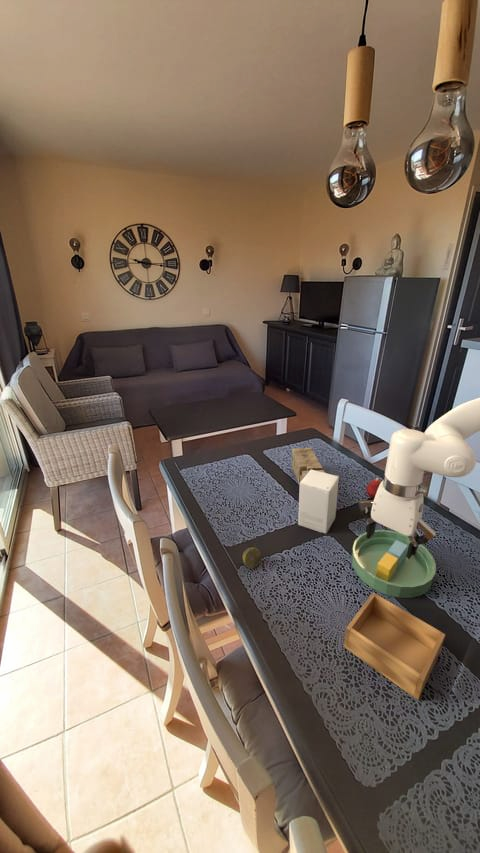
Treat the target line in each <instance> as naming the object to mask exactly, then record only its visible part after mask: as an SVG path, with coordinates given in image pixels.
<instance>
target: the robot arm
mask: <svg viewBox="0 0 480 853" xmlns="http://www.w3.org/2000/svg"><path fill="white" fill-rule="evenodd" d="M478 432H480V397H478V398H474V399H471V400H469V401H466V402H463V403H461V404H459V405H457V406H455V407H454V408H452V409H451V410H449V411H448V412H445V413H444V414H443V415H441V416H440V417H439V418H438V419H436V420H435V421H433V422H432V423H431V424H430V425H429V426H427V428H426V429H425V431H424V432H422V431H420V430H417V429H412V428H401V429H397V430H396V431H394V432H393V433H392V434H391V436H390V441H389V446H388V452H387V457H386V465H385V470H384V475H383V480H382V481H381V483H380V485H379V488H378V490H377V492H376V495H375V498H374V499H366V500H365V499H363V500H361V501H359V502H358V507H359V509H360V514H361V515H362V517H363V518H364V523H365V524H366V526H365V533H366V532H367V535H366V538H368V539H369V538H370V537H371V536H372V535H373V534H374V532H375V530H376V527H377V523H378V524H380V525H382V526H384V527H386V528H388V529H390V530H391V531H394V532H398V533H401V534H404V535H406V536H408V538H409V540H410V541H411V543H410V544H409V547H408V551H407V555H406V557H407V558H408V559H410V557H411V556H412V555H414V556H415V554H416V553H417V549H418V545H421V544H422V545H425V544H427V543H428V542H430V541H431V540H432V539H434V538H435V536H436V535H437V533H436V531H435V530H434V529H432V528H431V526H429V525H428V523H426V522H425V521H424V520H423V515H424V514H423V513H424V500H425V498H424V495H427V494H428V492H429V489H428V488H427V487H425V486H424V484H423V483H424V481H423V479H424V474H425V472H428V473H432V474H436V475H439V476H443V477H447V478H461V477H465V476H468V475H469V474H470V473H472V472H473V471H474V469H475V468H476V464H477V460H476V459H477V458H476V454H475V453H474V451H473V449H472V448H471V446H470V445H469V444H468V442H467V441H466V440H467V439H468V438H470V437H471V436H474V434H476V433H478ZM368 508H371V509H368ZM419 530H420V531H421V532H423V533H424V534H423V535H421V534H420V532H419Z"/></svg>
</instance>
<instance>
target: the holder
mask: <svg viewBox="0 0 480 853" xmlns="http://www.w3.org/2000/svg"><path fill="white" fill-rule="evenodd" d="M445 638H446V633H444V632H442V631H441V630H438V628H435V627H434V626H432V625H431V624H428V623H427V622H425V621H424V620H422V619H421V618H418V617H416V616H415V615H413V614H411V613H410V612H408V611H407V610H405V609H403V608H401V607H399V606H398V605H396V604H394V603H392V602H390V601H389V600H387V599H386V598H384V597H383V596H381V595H379V594H377V593H375V592H372V593H370V595H369V597H368V598H367V599H366V601H365V602H364V603H363V605H362V606H361V607H360V609H359V610H358V611H357V613H356V614H355V615H354V617H353V618H352V619H351V621H350V622H349V624H348V625H347V626H346V628H345V634H344V642H343V647H344V648H345V649H346V650H347V651H348V652H350V653H351V654H353V655H354V656H356V657H357V658H359V659H360V660H361V661H363V662H364V663H365V664H367V665H368V666H370V668H373V669H374V670H375V671H376V672H378V673H379V674H381V675H382V676H383V677H385V678H386V679H388V680H389V681H391V682H392V683H393V684H395V686H397V687H399V688H400V689H401V690H403V691H404V692H406V693H407V694H409V695H410V696H411V697H412V698H414V699H415V700H416V701H419V700H420V698H421V696H422V694H423V692H424V690H425V687H426V685H427V682H428V680H429V678H430V676H431V675H432V674H431V673H432V671H433V670H434V667H435V665H436V663H437V660H438V658H439V657H440V654H441V651H442V648H443V645H444V641H445Z"/></svg>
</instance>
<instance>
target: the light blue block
mask: <svg viewBox="0 0 480 853" xmlns="http://www.w3.org/2000/svg"><path fill="white" fill-rule="evenodd" d="M407 547H408V545H406V544H404V543H402V542H399V541H397V540H396V541H395V542H394V544H393V545H392V546H391V547H390V549H389V550H388V553H389V554H391V555H393V556H395V557H397V558H398V563H397V568H398V567H399V566H400V564H401V563H402V561H403V560H404V559H405V557H406V552H407Z"/></svg>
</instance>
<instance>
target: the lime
mask: <svg viewBox="0 0 480 853" xmlns="http://www.w3.org/2000/svg"><path fill="white" fill-rule="evenodd" d="M242 561H243V563H244V565H245V566H246V567H247V568H248V569H251V570H253V569H255V568H257V567H258V566H259V564H260V563H261V561H262V552H261V551H260V550H259V549H258V548H256V547H248V548H246V549H245V550H244V551H243V553H242Z"/></svg>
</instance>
